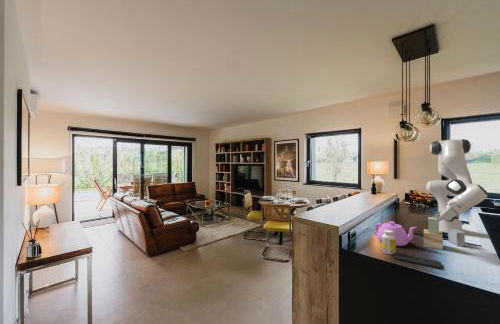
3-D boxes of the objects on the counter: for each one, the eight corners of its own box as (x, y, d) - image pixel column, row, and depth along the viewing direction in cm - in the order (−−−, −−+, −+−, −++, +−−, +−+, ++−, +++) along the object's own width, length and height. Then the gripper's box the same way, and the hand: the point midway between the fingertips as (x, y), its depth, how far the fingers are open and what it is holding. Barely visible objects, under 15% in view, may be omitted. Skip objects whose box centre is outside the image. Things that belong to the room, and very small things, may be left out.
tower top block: (424, 235, 144) (423, 229, 144) (442, 238, 138) (441, 231, 138) (423, 239, 137) (423, 232, 137) (442, 242, 131) (442, 235, 131)
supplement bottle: (396, 252, 128) (396, 230, 128) (394, 256, 123) (394, 233, 123) (383, 249, 132) (383, 228, 132) (381, 252, 127) (380, 231, 127)
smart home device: (442, 267, 106) (393, 257, 119) (442, 271, 106) (393, 260, 119) (440, 261, 113) (395, 252, 125) (440, 264, 113) (395, 255, 125)
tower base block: (424, 242, 143) (424, 235, 143) (442, 245, 137) (442, 238, 137) (423, 246, 136) (423, 239, 137) (442, 250, 131) (442, 242, 131)
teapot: (369, 240, 147) (368, 220, 148) (379, 235, 159) (378, 216, 159) (413, 252, 128) (413, 229, 128) (421, 244, 139) (421, 223, 139)
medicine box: (465, 246, 135) (465, 232, 135) (457, 246, 136) (456, 232, 136) (456, 242, 143) (455, 229, 143) (448, 241, 144) (448, 228, 144)
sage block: (428, 230, 140) (428, 216, 140) (438, 232, 137) (438, 218, 137) (428, 232, 136) (427, 218, 136) (438, 234, 133) (438, 219, 133)
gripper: (450, 199, 139) (431, 212, 145) (452, 204, 123) (430, 219, 130) (460, 207, 136) (440, 220, 142) (463, 213, 120) (440, 227, 127)
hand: (435, 219), depth 136 cm, fingers open, 8 cm apart
